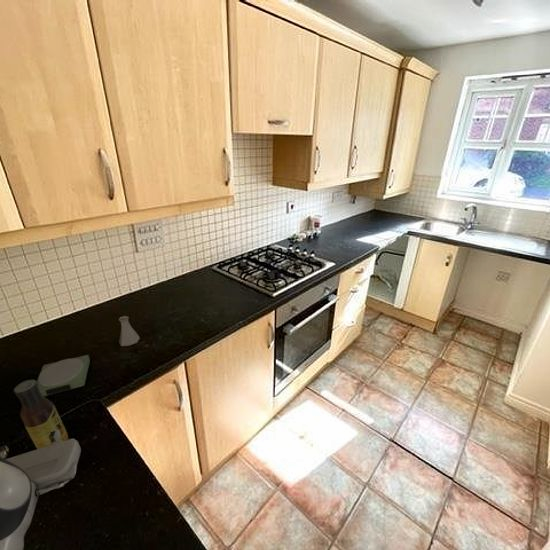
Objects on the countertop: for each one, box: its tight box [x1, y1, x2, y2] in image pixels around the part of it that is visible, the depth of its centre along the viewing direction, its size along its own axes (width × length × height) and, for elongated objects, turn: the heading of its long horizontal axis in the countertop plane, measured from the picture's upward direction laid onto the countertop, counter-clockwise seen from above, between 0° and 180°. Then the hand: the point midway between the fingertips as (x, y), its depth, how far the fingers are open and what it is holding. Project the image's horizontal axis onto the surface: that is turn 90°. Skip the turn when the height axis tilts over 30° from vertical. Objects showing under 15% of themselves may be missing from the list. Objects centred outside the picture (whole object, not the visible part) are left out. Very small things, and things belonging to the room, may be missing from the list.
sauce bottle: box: [13, 379, 70, 450], centre depth 71 cm, size 6×6×20 cm
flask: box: [118, 315, 140, 347], centre depth 112 cm, size 7×7×10 cm
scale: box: [36, 354, 91, 397], centre depth 96 cm, size 13×14×3 cm
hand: (30, 440), depth 65 cm, fingers open, 8 cm apart
